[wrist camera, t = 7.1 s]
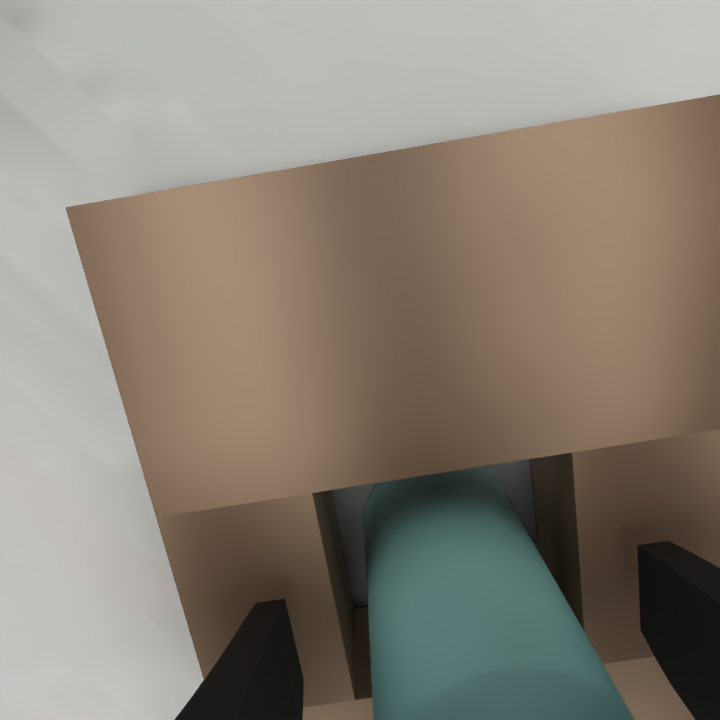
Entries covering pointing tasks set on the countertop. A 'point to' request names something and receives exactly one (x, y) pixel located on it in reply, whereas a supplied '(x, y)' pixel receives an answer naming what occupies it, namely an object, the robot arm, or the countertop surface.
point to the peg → (471, 611)
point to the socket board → (426, 367)
